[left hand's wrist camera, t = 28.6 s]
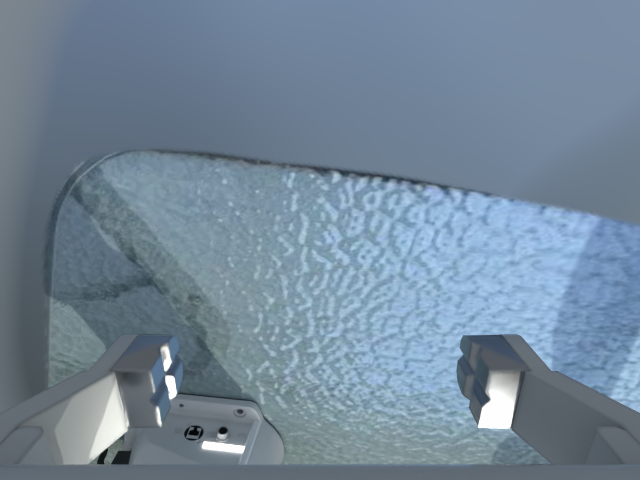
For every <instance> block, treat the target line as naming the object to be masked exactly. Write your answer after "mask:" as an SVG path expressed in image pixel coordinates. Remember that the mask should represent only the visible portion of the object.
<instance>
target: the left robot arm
mask: <svg viewBox="0 0 640 480" xmlns="http://www.w3.org/2000/svg"><path fill="white" fill-rule="evenodd" d="M179 349H180V344H179V339H178V337H177V336H176V335H154V334H141V335H140V334H123V335H120V336H119V337H118V338H117V339H116V340H115V341H114V343H113V344H112V345H111V346H110V347H109V348H108V349H107V351H106V352H105V353H104V354H103V355H102V356H101V357H100V359H99V360H98V361H97V362H96V363H95V364H94V365H93V367H92V368H91V369H90V370H89V371H82V372H80V373H78V374H76V375H74V376H72V377H70V378H68V379H66V380H64V381H62V382H60V383H58V384H57V385H55V386H53V387H51V388H49V389H47V390H45V391H43V392H41V393H39V394H37V395H35V396H33V397H31V398H29V399H27V400H25V401H23V402H21V403H19V404H17V405H15V406H13V407H11V408H9V409H7V410H5V411H3V412H1V413H0V480H640V413H638V412H636V411H635V410H633V409H631V408H629V407H627V406H625V405H623V404H621V403H619V402H617V401H615V400H613V399H611V398H609V397H607V396H605V395H603V394H601V393H599V392H597V391H595V390H593V389H591V388H589V387H587V386H585V385H583V384H581V383H579V382H578V381H576V380H574V379H572V378H570V377H568V376H566V375H564V374H562V373H560V372H558V371H551V370H550V369H549V368H548V367H547V365H546V364H545V363H544V362H543V361H542V360H541V359H540V357H539V356H538V355H537V354H536V353H535V352H534V351H533V349H532V348H531V347H530V346H529V345H528V344H527V343H526V341H525V340H524V339H523V338H522V337H521V336H520V335H518V334H499V335H463V337H462V339H461V343H460V349H461V351H462V353H463V354H464V355H463V356H462V357H461V358H460V359H459V360H458V362H457V381H458V384H459V388H460V390H461V392H462V394H463V395H464V396H465V397H466V398H468V399H469V400H470V404H469V409H470V411H471V413H472V415H473V417H474V419H475V421H476V423H477V425H478V427H482V428H512V431H514V432H515V433H516V434H517V435H518V436H519V437H521V438H522V439H523V440H524V441H525V442H526V443H528V444H529V445H530V446H531V447H532V448H534V449H535V450H536V451H537V452H538V453H539V454H541V455H542V456H543V457H544V458H545V459H547V460H548V461H549V462H550V463H551V464H530V465H481V464H311V465H281V464H282V462H283V459H284V445H283V442H282V440H281V438H280V436H279V434H278V433H277V432H276V430H275V429H274V428H273V427H272V426H271V425H270V424H268V423H267V422H266V420H265V419H264V418H263V415H262V413H261V410H260V408H259V407H258V405H257V404H256V403H254V402H252V401H244V400H234V399H224V398H214V397H204V396H194V395H184V394H178V392H179V390H180V388H181V384H182V380H183V362H182V360H181V359H180V358H179V357H178V356H177V355H176V354H177V353H178V351H179ZM239 409H241V410H239ZM124 433H125V434H124ZM123 434H124V449H125V451H118V453H117V455H116V456H115V458H114V460H113V462H112V463H111V464H104V459H105V457H106V455H107V452H108V447H109V446H110V445H111V444H112V443H114V442H115V441H116V440H117V439H118V438H120V437H121V436H122V435H123ZM99 454H100V456H99V458H98V462H97V464H89V463H90V462H91V461H92V460H94V459H95V458H96V457H97V456H98V455H99Z"/></svg>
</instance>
